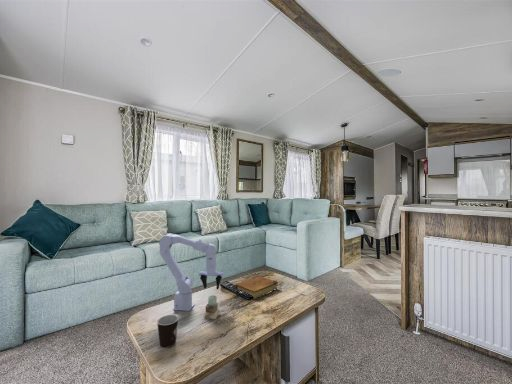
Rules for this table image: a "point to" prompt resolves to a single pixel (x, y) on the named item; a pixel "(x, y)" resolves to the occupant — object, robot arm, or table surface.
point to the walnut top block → (211, 308)
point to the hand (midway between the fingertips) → (211, 288)
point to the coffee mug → (167, 330)
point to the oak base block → (212, 314)
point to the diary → (257, 286)
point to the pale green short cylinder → (212, 300)
